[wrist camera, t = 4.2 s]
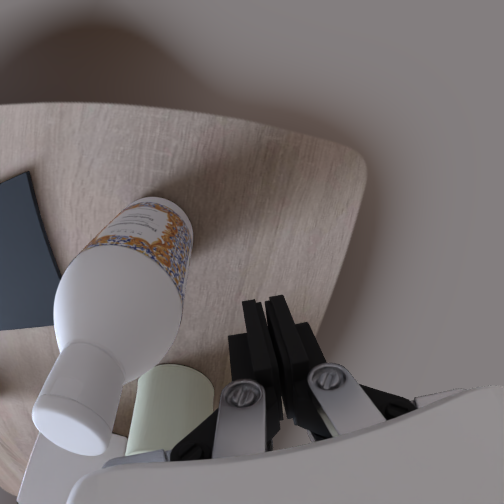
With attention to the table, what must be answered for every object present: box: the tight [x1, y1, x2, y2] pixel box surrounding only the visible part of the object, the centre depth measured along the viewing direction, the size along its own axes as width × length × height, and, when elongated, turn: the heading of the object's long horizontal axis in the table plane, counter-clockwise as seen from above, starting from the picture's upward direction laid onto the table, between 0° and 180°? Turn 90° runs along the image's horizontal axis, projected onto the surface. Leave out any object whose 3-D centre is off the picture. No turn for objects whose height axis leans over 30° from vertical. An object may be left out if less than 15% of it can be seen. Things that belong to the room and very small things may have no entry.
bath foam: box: [32, 197, 193, 456], centre depth 16 cm, size 7×7×20 cm
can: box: [125, 364, 214, 456], centre depth 27 cm, size 9×9×12 cm
